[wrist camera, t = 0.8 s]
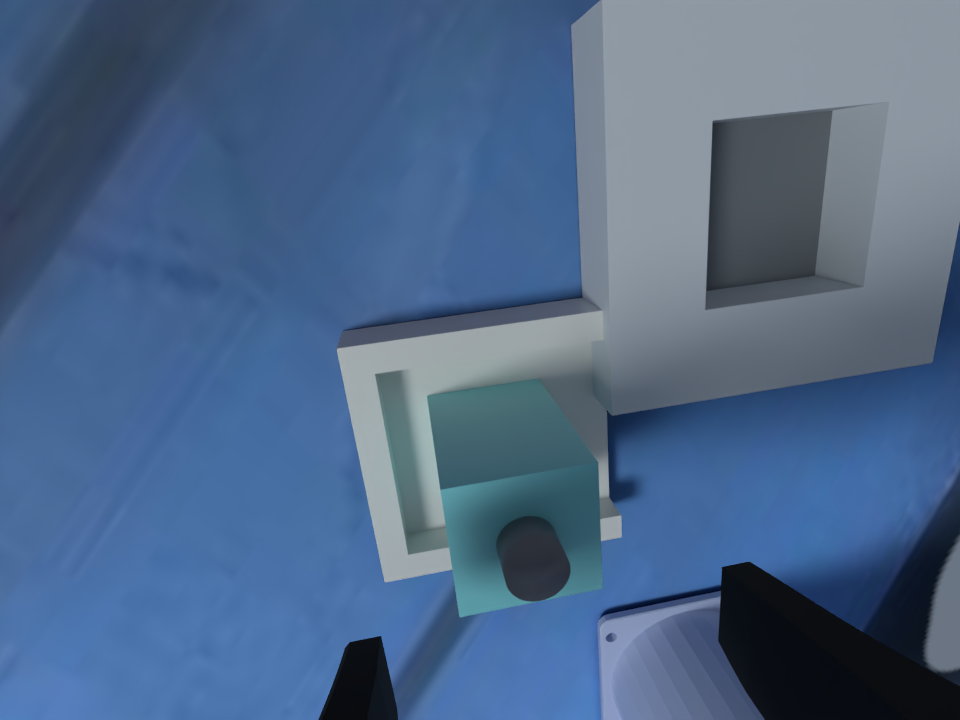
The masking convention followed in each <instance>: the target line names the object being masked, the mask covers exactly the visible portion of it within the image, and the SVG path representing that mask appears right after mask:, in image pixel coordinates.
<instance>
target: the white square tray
mask: <svg viewBox="0 0 960 720" xmlns="http://www.w3.org/2000/svg"><path fill="white" fill-rule="evenodd" d="M599 340H603V310H601V309H599V308H598V307H596V306H595V305H593V304H592V303H590V302H589V301H587V300H585V299H584V298H575V299H568V300H561V301H554V302H547V303H540V304H533V305H526V306H518V307H511V308H504V309H497V310H490V311H483V312H476V313H468V314H461V315H454V316H447V317H440V318H433V319H426V320H419V321H411V322H404V323H397V324H390V325H383V326H376V327H369V328H362V329H354V330H347V331H343V332H342V335H341V337H340V340H339V343H338V346H337V353H338V358H339V363H340V367H341V372H342V377H343V382H344V387H345V392H346V397H347V401H348V406H349V411H350V416H351V421H352V426H353V430H354V435H355V440H356V445H357V450H358V455H359V460H360V464H361V469H362V474H363V479H364V484H365V489H366V494H367V498H368V503H369V508H370V513H371V518H372V523H373V527H374V532H375V537H376V542H377V547H378V552H379V557H380V561H381V566H382V571H383V576H384V581H385V582H390V581H395V580H400V579H405V578H411V577H416V576H421V575H426V574H432V573H437V572H442V571H447V570H452V564H451V557H450V551H449V544H448V537H447V531H446V524H445V518H444V511H443V504H442V498H441V491H440V484H439V477H438V470H437V463H436V456H435V449H434V443H433V436H432V429H431V422H430V415H429V408H428V401H427V396H428V395H434V394H441V393H447V392H453V391H460V390H466V389H473V388H479V387H486V386H492V385H498V384H505V383H511V382H518V381H524V380H531V379H537V378H539V380H540V381H541V383H542V384H543V385H544V387H545V388H546V390H547V391H548V392H549V394H550V395H551V397H552V398H553V399H554V401H555V402H556V404H557V405H558V406H559V408H560V409H561V411H562V412H563V413H564V415H565V416H566V418H567V419H568V420H569V422H570V423H571V425H572V426H573V428H574V429H575V430H576V432H577V433H578V435H579V436H580V437H581V439H582V440H583V442H584V443H585V444H586V446H587V447H588V449H589V450H590V451H591V453H592V454H593V456H594V457H595V458H596V460H597V461H598V468H599V497H600V526H601V541H604V540H610V539H615V538H620V537H622V531H621V514H620V513H619V511H618V510H617V508H616V507H615V505H614V504H613V502H612V501H611V499H610V498H609V471H608V434H607V410H606V409H605V408H604V406H603V405H602V404H601V403H600V402H599V401H598V400H597V399H596V398H595V397H594V396H593V373H592V345H591V342H592V341H599Z"/></svg>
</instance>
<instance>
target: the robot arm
mask: <svg viewBox="0 0 960 720" xmlns="http://www.w3.org/2000/svg"><path fill="white" fill-rule="evenodd" d="M610 633H611V634H610ZM608 634H609V635H608ZM598 649H599V675H600V700H601V720H960V686H958V685H956V684H954V683H952V682H950V681H948V680H946V679H945V678H943V677H941V676H939V675H937V674H935V673H933V672H931V671H930V670H928V669H926V668H924V667H922V666H921V665H919V664H917V663H915V662H913V661H912V660H910V659H908V658H906V657H905V656H903V655H901V654H899V653H897V652H896V651H894V650H892V649H890V648H889V647H887V646H885V645H883V644H882V643H880V642H878V641H877V640H875V639H873V638H871V637H870V636H868V635H866V634H865V633H863V632H861V631H860V630H858V629H856V628H855V627H853V626H851V625H850V624H848V623H847V622H845V621H843V620H842V619H840V618H838V617H837V616H835V615H834V614H832V613H830V612H829V611H827V610H826V609H824V608H822V607H821V606H819V605H818V604H816V603H814V602H813V601H811V600H810V599H808V598H806V597H805V596H803V595H802V594H800V593H799V592H797V591H795V590H794V589H792V588H791V587H789V586H788V585H786V584H784V583H783V582H781V581H780V580H778V579H777V578H775V577H773V576H772V575H770V574H769V573H767V572H765V571H764V570H762V569H761V568H759V567H757V566H756V565H754V564H752V563H751V562H745V563H740V564H735V565H730V566H725V567H722V581H721V591H718V592H713V593H708V594H703V595H698V596H693V597H688V598H684V599H679V600H674V601H669V602H664V603H659V604H655V605H650V606H645V607H640V608H635V609H630V610H625V611H621V612H616V613H611V614H607V615H604V616H603V617H601V618H600V620H599V621H598ZM319 720H398V713H397V707H396V702H395V698H394V693H393V688H392V684H391V679H390V675H389V670H388V666H387V661H386V657H385V652H384V648H383V643H382V639H381V636H379V637H374V638H369V639H364V640H359V641H354V642H350V643H349V644H348V645H347V646H346V648H345V650H344V653H343V657H342V660H341V663H340V666H339V668H338V671H337V674H336V677H335V680H334V682H333V685H332V687H331V690H330V693H329V695H328V698H327V700H326V703H325V705H324V708H323V710H322V713H321V715H320V717H319Z"/></svg>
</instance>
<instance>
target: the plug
mask: <svg viewBox="0 0 960 720" xmlns="http://www.w3.org/2000/svg"><path fill="white" fill-rule="evenodd" d="M427 401H428V408H429V415H430V422H431V429H432V436H433V443H434V449H435V456H436V463H437V470H438V477H439V484H440V491H441V498H442V504H443V511H444V518H445V524H446V531H447V537H448V544H449V551H450V557H451V564H452V571H453V577H454V584H455V590H456V597H457V604H458V610H459V617H464V616H469V615H474V614H479V613H483V612H488V611H493V610H498V609H503V608H508V607H513V606H518V605H523V604H528V603H533V602H538V601H543V600H548V599H553V598H558V597H563V596H568V595H573V594H578V593H583V592H588V591H593V590H598V589H603V584H602V555H601V526H600V497H599V468H598V461H597V460H596V458H595V457H594V456H593V454H592V453H591V451H590V450H589V449H588V447H587V446H586V444H585V443H584V442H583V440H582V439H581V437H580V436H579V435H578V433H577V432H576V430H575V429H574V428H573V426H572V425H571V423H570V422H569V420H568V419H567V418H566V416H565V415H564V413H563V412H562V411H561V409H560V408H559V406H558V405H557V404H556V402H555V401H554V399H553V398H552V397H551V395H550V394H549V392H548V391H547V390H546V388H545V387H544V385H543V384H542V383H541V381H540V380H539V378H537V379H531V380H524V381H518V382H511V383H505V384H498V385H492V386H486V387H479V388H473V389H466V390H460V391H453V392H447V393H441V394H434V395H428V396H427Z"/></svg>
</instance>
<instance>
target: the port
mask: <svg viewBox="0 0 960 720" xmlns="http://www.w3.org/2000/svg"><path fill="white" fill-rule="evenodd" d="M571 33H572V58H573V82H574V106H575V131H576V155H577V180H578V204H579V228H580V253H581V277H582V298H584V299H585V300H587V301H589V302H590V303H592V304H593V305H595V306H596V307H598V308H599V309H601V310H603V340H599V341H592V342H591V345H592V373H593V396H594V397H595V398H596V399H597V400H598V401H599V402H600V403H601V404H602V405H603V406H604V408H605V409H606V410H607V411H608V412H609V413H610V414H611V415H612V416H614V415H620V414H626V413H632V412H638V411H644V410H650V409H656V408H662V407H668V406H674V405H680V404H686V403H692V402H698V401H704V400H710V399H716V398H722V397H728V396H735V395H741V394H747V393H753V392H759V391H765V390H771V389H777V388H783V387H789V386H795V385H801V384H807V383H813V382H819V381H825V380H831V379H837V378H843V377H849V376H855V375H861V374H867V373H874V372H880V371H886V370H892V369H898V368H904V367H910V366H916V365H922V364H928V363H932V362H933V357H934V352H935V347H936V342H937V336H938V331H939V326H940V321H941V316H942V310H943V305H944V300H945V295H946V290H947V285H948V279H949V274H950V269H951V264H952V259H953V253H954V248H955V243H956V238H957V233H958V228H959V222H960V0H600V1H599V2H598V3H597V4H596V5H594V6H593V7H592V8H591V9H590V10H589V11H587V12H586V13H585V14H584V15H583V16H582V17H581V18H579V19H578V20H577V21H576V22H575V23H574V24H573V25H571Z"/></svg>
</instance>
